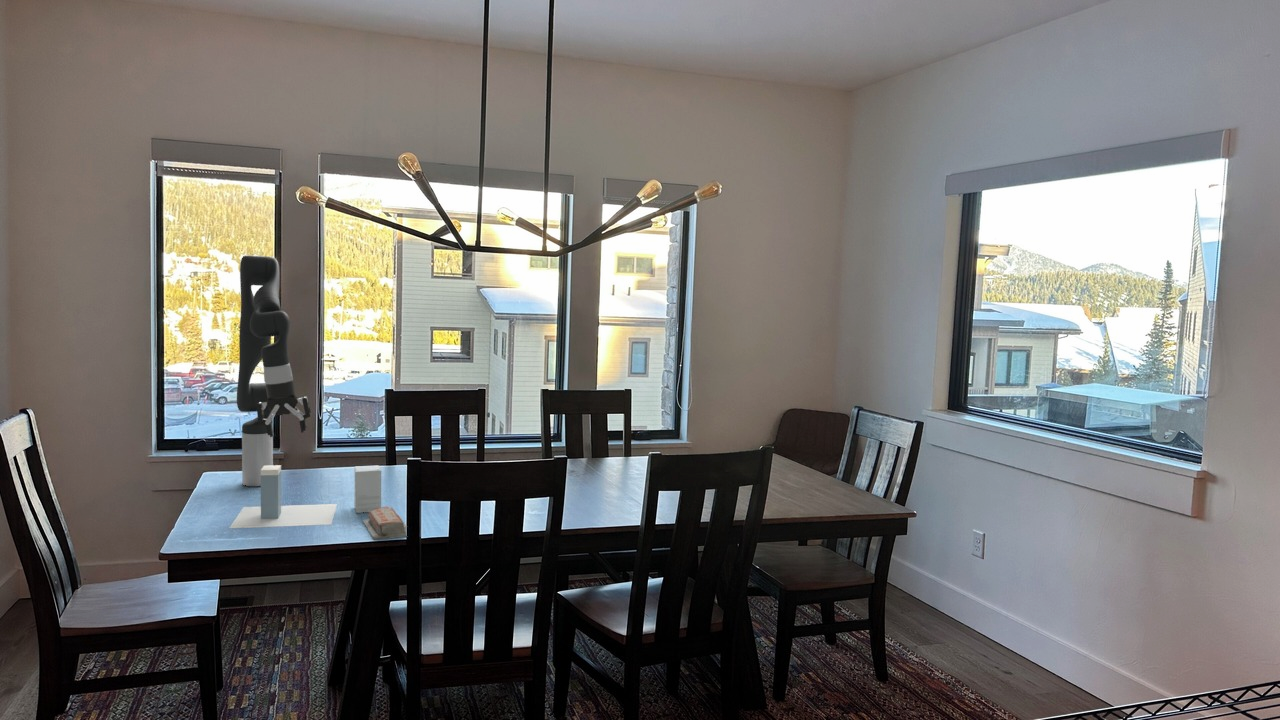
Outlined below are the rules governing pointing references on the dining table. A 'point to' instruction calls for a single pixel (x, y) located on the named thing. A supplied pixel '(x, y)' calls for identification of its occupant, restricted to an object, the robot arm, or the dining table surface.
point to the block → (271, 492)
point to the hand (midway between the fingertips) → (287, 434)
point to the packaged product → (385, 524)
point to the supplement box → (367, 488)
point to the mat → (287, 516)
